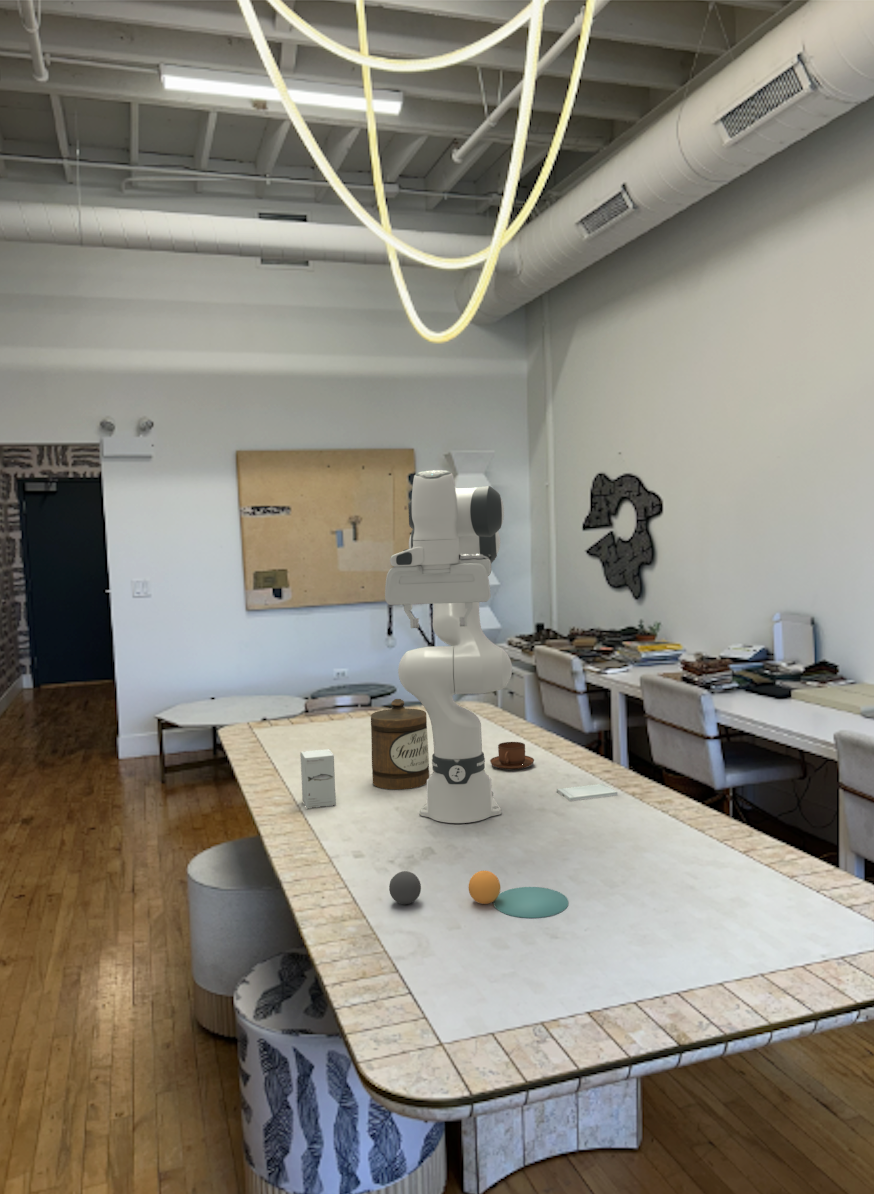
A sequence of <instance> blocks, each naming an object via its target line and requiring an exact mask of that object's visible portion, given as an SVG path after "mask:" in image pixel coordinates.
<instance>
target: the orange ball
mask: <svg viewBox="0 0 874 1194" xmlns="http://www.w3.org/2000/svg"><path fill="white" fill-rule="evenodd" d="M468 881H469V882H468V886H467V887H468V892H469V895H470V897H471V898H472V900H473V901H475V902H477V903H478V904H481V905H488V904H491V903H494V900H496V898H497V897H498V895H499V894H500V893H501V882H500V880H499V878H498V877H497V875H495V874H494V873H493V872H492V871H489V870H480V871H477V872H475V873H474V874H473V875H472V876H471V878H470V879H469V880H468Z"/></svg>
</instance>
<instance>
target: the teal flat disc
mask: <svg viewBox="0 0 874 1194" xmlns="http://www.w3.org/2000/svg"><path fill="white" fill-rule="evenodd" d="M493 906H494V908H495V909H496V910H497V911H499V912H500V913H502V914H505V915H507V916H510V917H515V918H522V919H539V918H540V919H541V918H547V917H552V916H555V915H558V914H560V913H562V912H564V911H565V910H566V909H567V908H568V906H569V900H568V898H567V896H566V895H565V894H563V893H562V892H560V891H557V890H555V889H551V888H547V887H546V888H545V887H541V886H523V887H521V886H520V887H515V888H511V889H507V890H504V891H502V892H500V893H499V895H498V897H497V898H496V900H494V901H493Z"/></svg>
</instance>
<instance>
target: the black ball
mask: <svg viewBox="0 0 874 1194" xmlns="http://www.w3.org/2000/svg"><path fill="white" fill-rule="evenodd" d="M388 885H389V888H388V889H389V894H390V897H391V899H393V901H395V902H396V903H398V904H399V905H410V904H412V903H414V902H415V901H416V900H417V899H418V898H419V896H420V894H421V891H422V886H421V885H422V884H421V881H420V879H419V877H418V876H417V875H416V874H415V873H413V872H411V871H408V870H407V871H406V870H404V871H399V872H397V873H396V874H394V875H393V876H392V878H391V880H390V882H389V884H388Z"/></svg>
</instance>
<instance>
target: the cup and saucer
mask: <svg viewBox="0 0 874 1194" xmlns="http://www.w3.org/2000/svg"><path fill="white" fill-rule="evenodd" d="M497 746H498V747H497V750H498V756H494V757H492V758H491V759H490V760H489V762H490V765H492V766H493V767H495V768H497V769H501V770H508V771H509V770H511V771H512V770H514V771H515V770H522V769H525V768H529V767H531V765H533V764H534V762H535V759H534V758H533V757H532V756H528V755H526V744H525V743H524V742H519V741H505V742H500V743H499V744H498V745H497ZM522 764H523V765H522Z"/></svg>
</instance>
